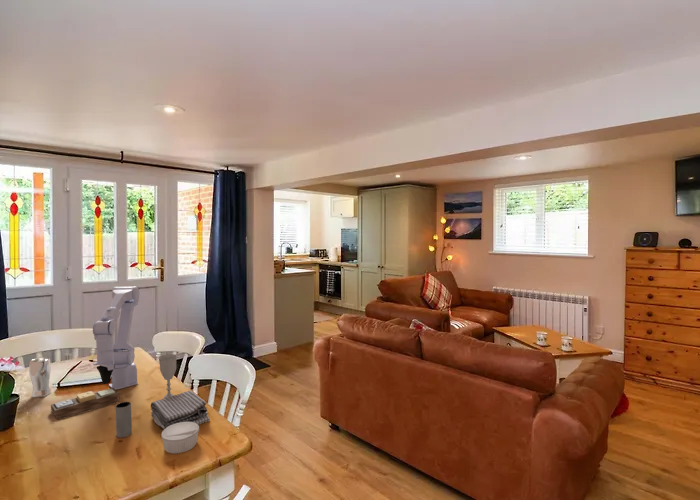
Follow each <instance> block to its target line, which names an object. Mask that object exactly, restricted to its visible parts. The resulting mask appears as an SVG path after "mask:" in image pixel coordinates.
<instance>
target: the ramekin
mask: <svg viewBox="0 0 700 500" xmlns="http://www.w3.org/2000/svg"><path fill="white" fill-rule="evenodd" d="M199 432H200V425H198V424H196V423H194V422H180V423H176V424H173V425H170V426H168V427H167V428H166V429H163V430H162V432H161V440H162V445H163V448H164V451H165V452H167V453H169V454H173V455H174V454H177V453H178V454H182V452H183V453H186V452H188V451H190V450H191V449H193V448H194V447H195V445H197V443H198V439H199V438H198V437H199ZM178 454H177V455H178Z"/></svg>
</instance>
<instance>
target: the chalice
mask: <svg viewBox="0 0 700 500" xmlns="http://www.w3.org/2000/svg"><path fill="white" fill-rule="evenodd" d="M157 358H158V360H159V370H160V373H161V376H162V377H163V379H164V381H165V380H166V381H167V382H166V387H167V388H166V390H167V393H166V394H165V395H164V396H163V399H164V398H168V397H171V396H174V395H175V394H173V393H171V390H172V388H171V385H172V384H171V380H172V379H173V378H174V375H175V374H176V370H177V359H178V355H177V354H173V353H172V354H171V353H170V354H163V355H159V357H157Z"/></svg>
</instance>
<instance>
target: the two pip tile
mask: <svg viewBox="0 0 700 500" xmlns="http://www.w3.org/2000/svg"><path fill="white" fill-rule="evenodd" d="M94 393H95V392H93V391H92V390H89V391H86V392H83V393H79V394H76V398H77V401H78V402H79V403H82V402H85V401H89V400H92V399H95V394H94Z"/></svg>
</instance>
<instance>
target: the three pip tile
mask: <svg viewBox="0 0 700 500" xmlns="http://www.w3.org/2000/svg"><path fill="white" fill-rule="evenodd" d="M71 399H72V398H70V399H67V400H66V399H65V400H62V401H59V402H54V404H55V408H56V409H60V408H63V407H67V406H71V405H74V403H73V402H72V400H71Z"/></svg>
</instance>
